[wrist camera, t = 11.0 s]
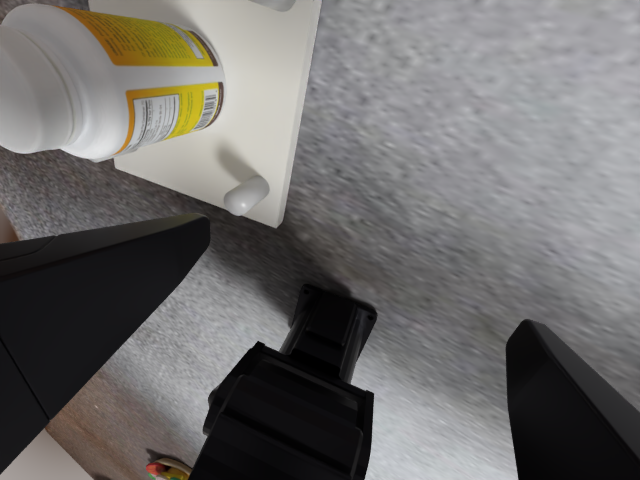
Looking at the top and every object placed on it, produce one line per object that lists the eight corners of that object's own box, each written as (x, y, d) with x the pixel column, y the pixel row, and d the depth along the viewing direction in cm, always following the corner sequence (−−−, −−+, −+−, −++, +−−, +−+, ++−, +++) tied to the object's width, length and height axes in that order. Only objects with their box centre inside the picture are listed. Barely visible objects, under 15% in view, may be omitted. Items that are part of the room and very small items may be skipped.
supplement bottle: (140, 30, 18) (-119, -2, 10) (220, 21, 16) (-5, -27, 8) (167, 129, 21) (-15, 172, 12) (238, 129, 19) (85, 180, 11)
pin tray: (282, 221, 23) (256, 249, 19) (127, 164, 25) (78, 179, 21) (334, -68, 14) (302, -112, 11) (89, -120, 16) (-5, -171, 13)
